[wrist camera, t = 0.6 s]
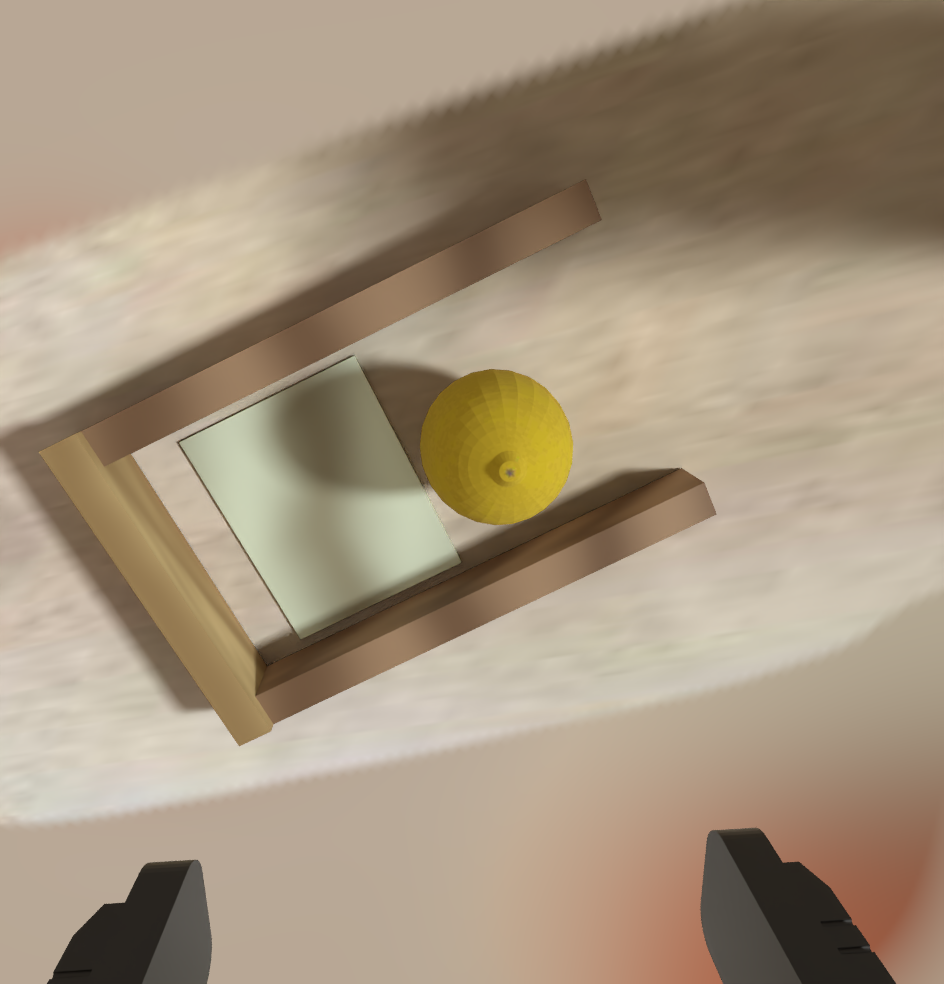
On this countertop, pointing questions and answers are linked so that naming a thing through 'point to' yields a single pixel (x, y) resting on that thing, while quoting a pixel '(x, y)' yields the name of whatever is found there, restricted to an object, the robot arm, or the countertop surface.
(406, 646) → the brown wooden u-shaped frame
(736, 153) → the countertop surface
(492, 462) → the lemon
